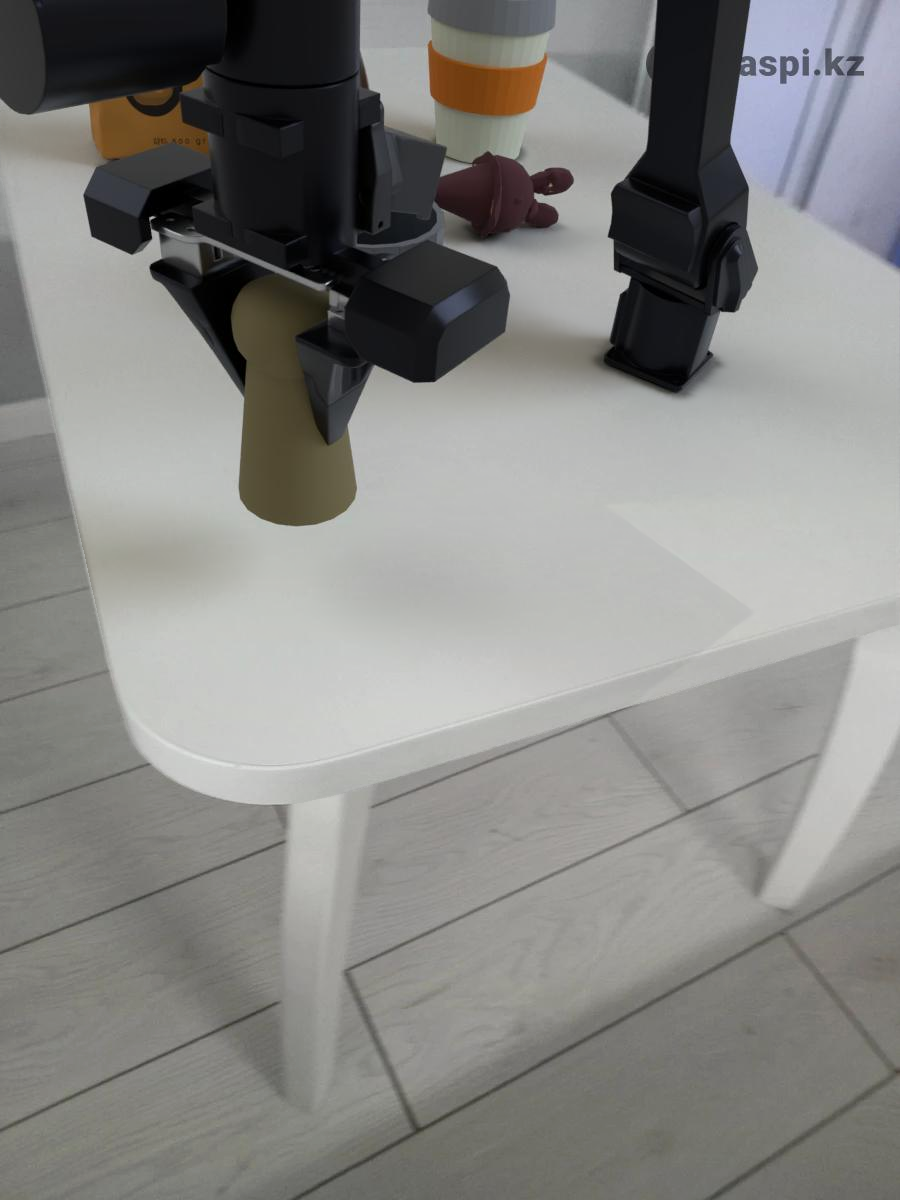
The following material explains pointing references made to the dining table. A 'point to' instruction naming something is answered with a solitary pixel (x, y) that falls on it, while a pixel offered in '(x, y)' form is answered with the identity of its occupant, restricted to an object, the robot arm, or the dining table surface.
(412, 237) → the bowl
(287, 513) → the olive pawn
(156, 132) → the coffee package
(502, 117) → the reusable coffee cup
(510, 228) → the icecream
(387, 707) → the dining table surface
